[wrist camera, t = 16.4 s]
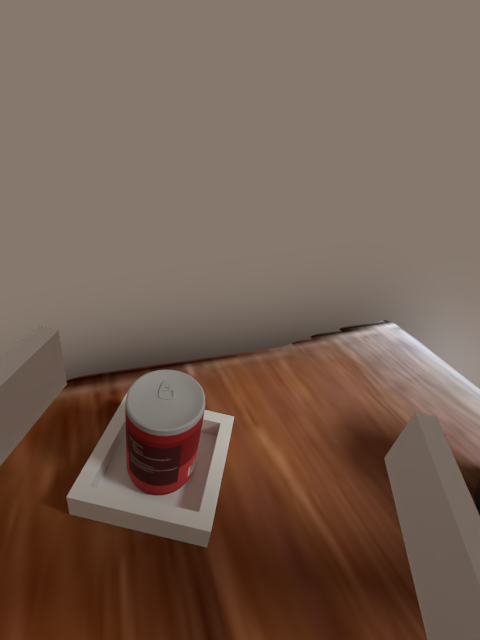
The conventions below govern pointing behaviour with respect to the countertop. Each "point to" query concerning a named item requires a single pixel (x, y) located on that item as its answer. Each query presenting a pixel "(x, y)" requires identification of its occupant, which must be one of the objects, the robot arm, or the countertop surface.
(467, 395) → the countertop surface
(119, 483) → the tray
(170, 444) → the canned food
